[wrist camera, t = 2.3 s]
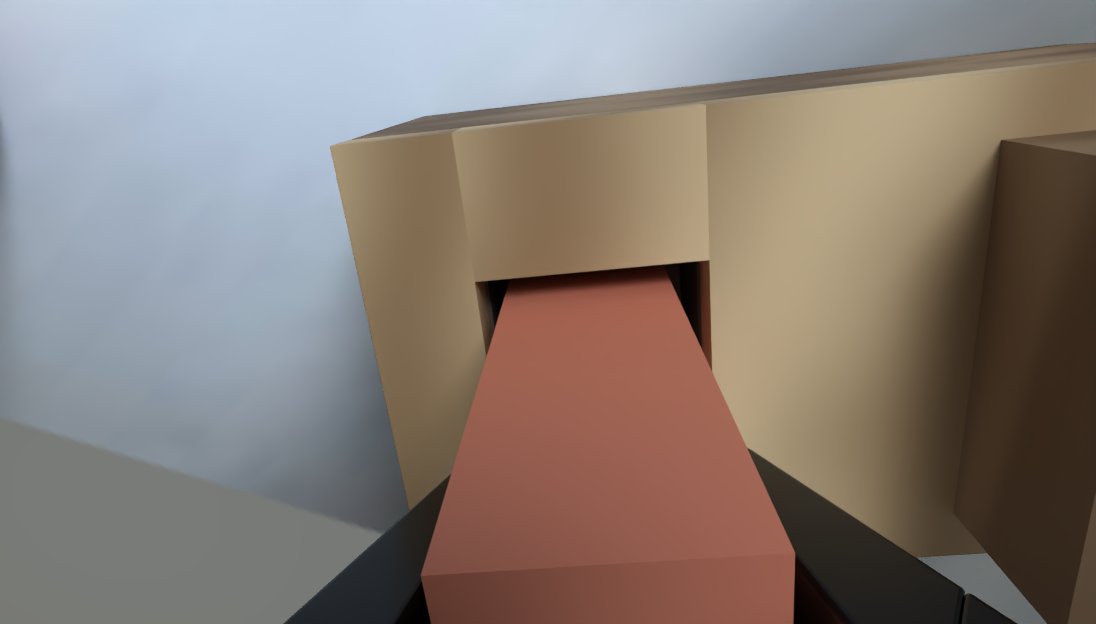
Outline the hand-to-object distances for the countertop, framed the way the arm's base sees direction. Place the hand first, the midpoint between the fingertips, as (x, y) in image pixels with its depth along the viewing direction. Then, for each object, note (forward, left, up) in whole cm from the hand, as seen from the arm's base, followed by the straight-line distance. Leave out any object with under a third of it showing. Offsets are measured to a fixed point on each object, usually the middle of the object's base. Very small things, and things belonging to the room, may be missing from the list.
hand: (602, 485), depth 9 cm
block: (0, 0, -5) cm, 5 cm away
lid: (-4, 0, -4) cm, 6 cm away
